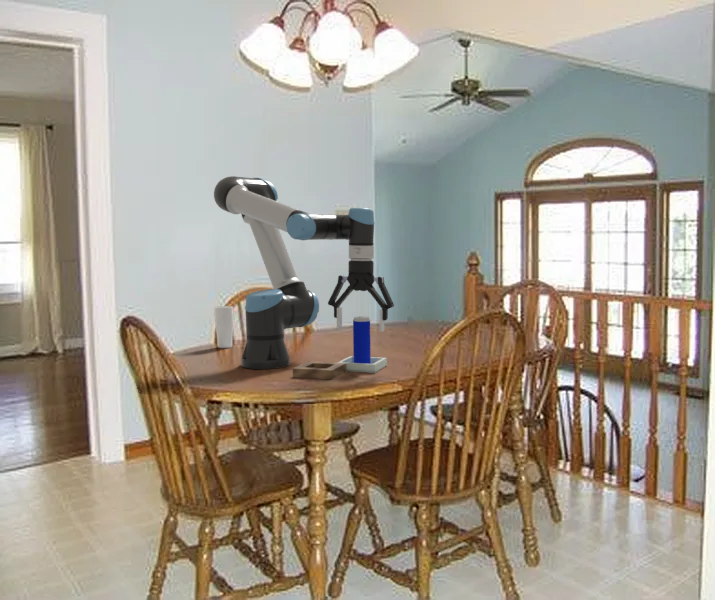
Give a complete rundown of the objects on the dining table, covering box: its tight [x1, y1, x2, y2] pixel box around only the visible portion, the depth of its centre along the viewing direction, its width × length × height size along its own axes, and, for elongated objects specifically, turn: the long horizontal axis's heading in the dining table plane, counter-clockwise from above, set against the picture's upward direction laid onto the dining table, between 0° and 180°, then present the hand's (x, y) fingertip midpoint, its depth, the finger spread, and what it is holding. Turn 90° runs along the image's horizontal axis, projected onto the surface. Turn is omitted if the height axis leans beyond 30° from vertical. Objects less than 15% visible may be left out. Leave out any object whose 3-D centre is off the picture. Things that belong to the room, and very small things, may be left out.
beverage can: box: [352, 316, 372, 364], centre depth 211 cm, size 5×5×15 cm
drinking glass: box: [214, 305, 234, 349], centre depth 256 cm, size 7×7×15 cm
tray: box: [336, 355, 388, 374], centre depth 212 cm, size 12×12×2 cm
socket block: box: [292, 360, 347, 380], centre depth 203 cm, size 12×12×2 cm
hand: (360, 330), depth 211 cm, fingers open, 13 cm apart
